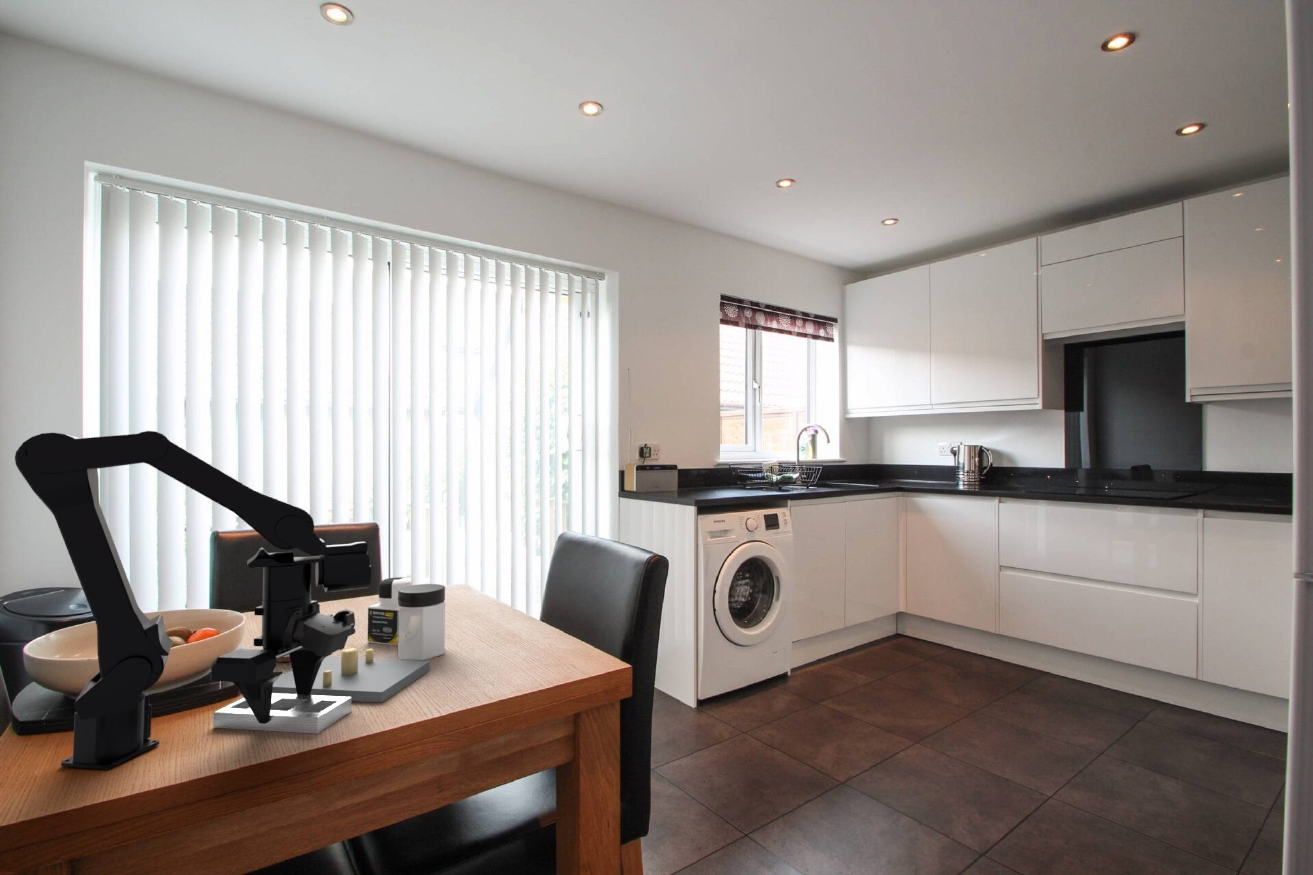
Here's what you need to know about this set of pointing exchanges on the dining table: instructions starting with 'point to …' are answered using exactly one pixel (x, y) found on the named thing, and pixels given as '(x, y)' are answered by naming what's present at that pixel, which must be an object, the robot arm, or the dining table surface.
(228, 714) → the white slotted frame
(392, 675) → the post base
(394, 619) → the medicine bottle
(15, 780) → the dining table surface
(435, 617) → the jar
